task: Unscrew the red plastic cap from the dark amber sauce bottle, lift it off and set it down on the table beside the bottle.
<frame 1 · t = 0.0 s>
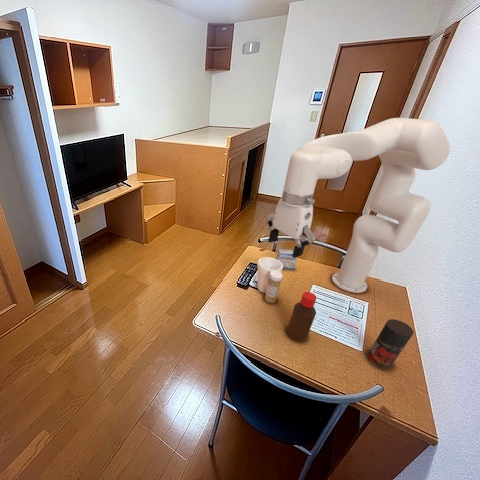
hand: (284, 248, 81), 31 cm above the table, tool pointing down, fingers open, 9 cm apart
cap: (309, 296, 82), point 18 cm above the table, screwed on, not yet turned
medicine box: (284, 266, 124), on the table
sauce bottle: (296, 334, 91), on the table
deodorant: (378, 360, 81), on the table
foam cup: (265, 288, 111), on the table, touching sprinkles bottle
sprinkles bottle: (269, 299, 106), on the table, touching foam cup
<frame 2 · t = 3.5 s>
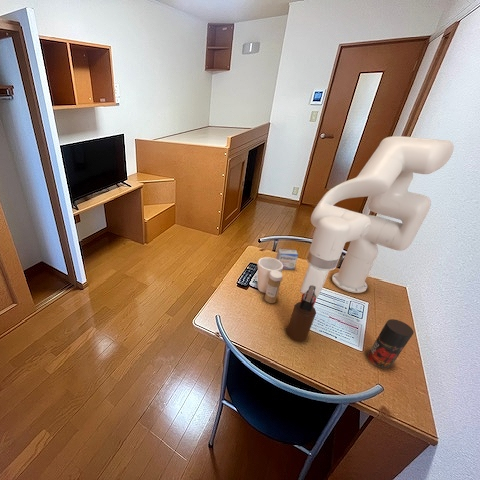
hand: (306, 304, 83), 14 cm above the table, tool pointing down, fingers closed on cap, 3 cm apart
cap: (309, 296, 82), point 18 cm above the table, screwed on, not yet turned, touching gripper
everything else where it was.
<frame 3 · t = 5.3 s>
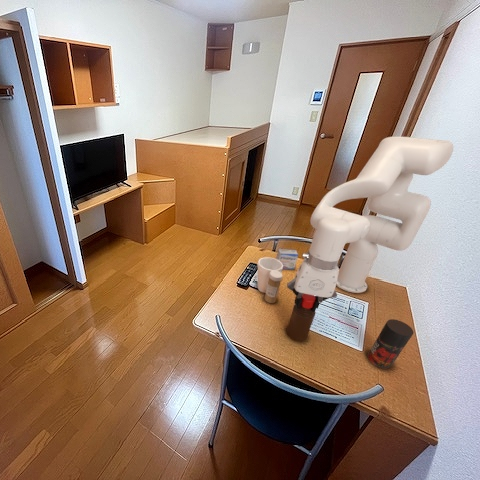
hand: (305, 306, 83), 14 cm above the table, tool pointing down, fingers closed on cap, 3 cm apart
cap: (308, 297, 81), point 18 cm above the table, turned 106° so far, risen 0.1 cm, still on its thread, touching gripper
sauce bottle: (296, 333, 91), on the table, touching gripper
everything else where it was.
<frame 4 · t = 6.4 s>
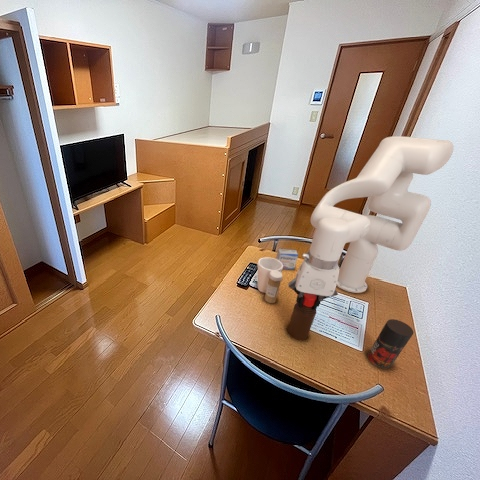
hand: (306, 305, 84), 14 cm above the table, tool pointing down, fingers closed on cap, 3 cm apart
cap: (309, 295, 82), point 18 cm above the table, turned 108° so far, risen 0.1 cm, still on its thread, touching gripper
sauce bottle: (297, 332, 91), on the table
everything else where it was.
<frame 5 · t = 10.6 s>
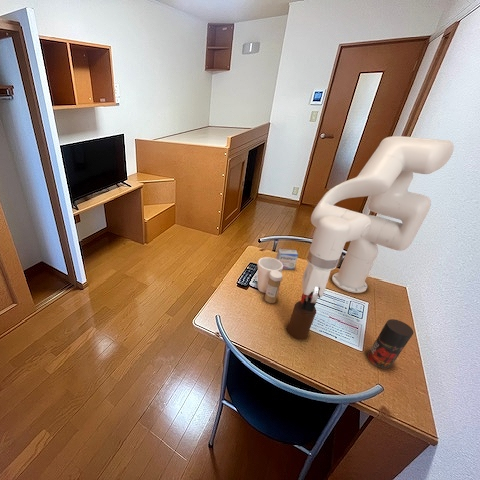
hand: (306, 304, 83), 14 cm above the table, tool pointing down, fingers closed on cap, 3 cm apart
cap: (309, 296, 81), point 18 cm above the table, turned 119° so far, risen 0.1 cm, still on its thread, touching gripper
everything else where it was.
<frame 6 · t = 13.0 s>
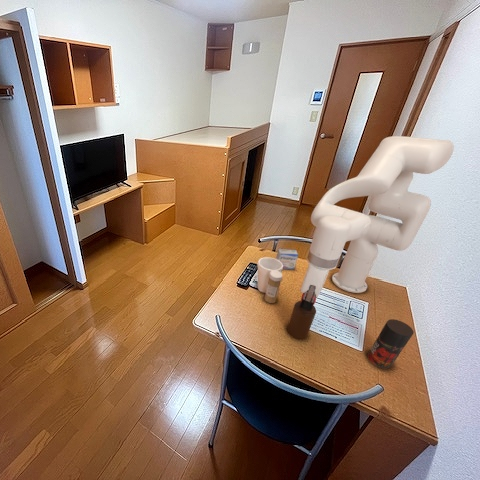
hand: (306, 304, 83), 14 cm above the table, tool pointing down, fingers closed on cap, 3 cm apart
cap: (309, 295, 81), point 18 cm above the table, turned 215° so far, risen 0.2 cm, still on its thread, touching gripper
everything else where it was.
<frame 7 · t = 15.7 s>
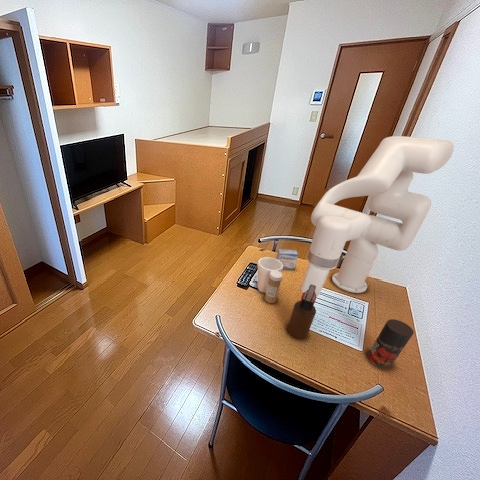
hand: (306, 303, 83), 14 cm above the table, tool pointing down, fingers closed on cap, 3 cm apart
cap: (309, 295, 81), point 18 cm above the table, turned 324° so far, risen 0.3 cm, still on its thread, touching gripper
everything else where it was.
when the fingers open (2 cm above the table, at t = 24.7 s): cap drops 2 cm, point 3 cm above the table.
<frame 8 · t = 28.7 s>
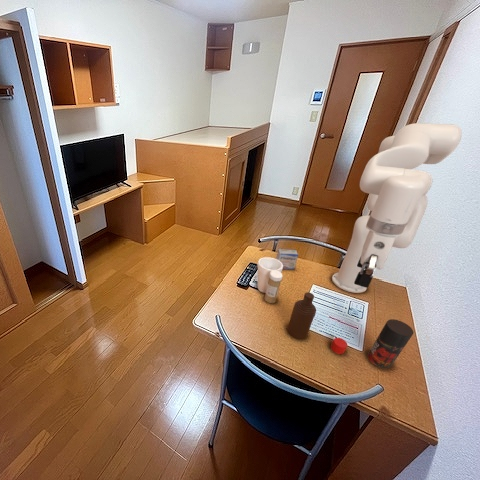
hand: (361, 276, 76), 26 cm above the table, tool pointing down, fingers open, 9 cm apart
cap: (340, 343, 84), point 3 cm above the table, off its thread
everything else where it was.
at the end: cap inside the target area (0.1 cm from its centre), point 2.9 cm above the table; cap point 2.9 cm above the table; the gripper is holding nothing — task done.
